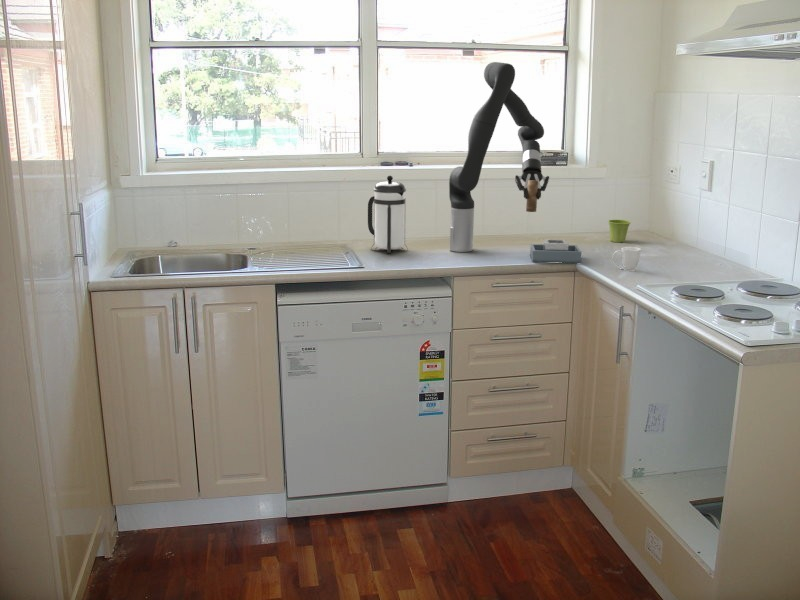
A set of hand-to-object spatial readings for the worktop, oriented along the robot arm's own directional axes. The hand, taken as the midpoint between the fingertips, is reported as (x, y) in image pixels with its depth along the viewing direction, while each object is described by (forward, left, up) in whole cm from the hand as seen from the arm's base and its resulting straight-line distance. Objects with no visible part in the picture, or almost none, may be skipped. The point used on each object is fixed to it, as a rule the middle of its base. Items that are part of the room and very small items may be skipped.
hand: (532, 197), depth 311 cm
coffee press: (-57, -2, -22) cm, 61 cm away
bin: (+9, -12, -22) cm, 26 cm away
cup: (+33, -26, -22) cm, 47 cm away
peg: (0, +2, -6) cm, 6 cm away
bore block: (+9, -12, -22) cm, 26 cm away
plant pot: (+40, +29, -22) cm, 54 cm away
